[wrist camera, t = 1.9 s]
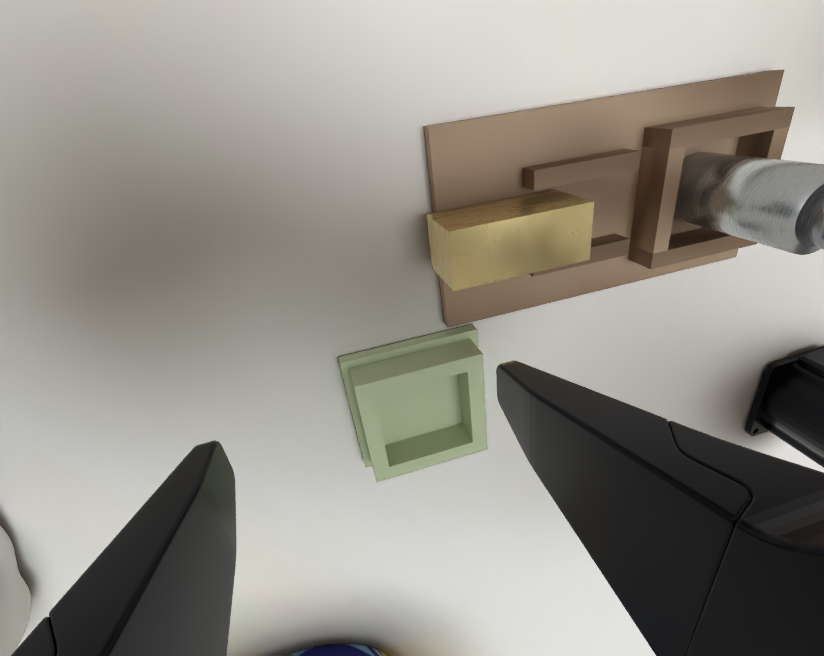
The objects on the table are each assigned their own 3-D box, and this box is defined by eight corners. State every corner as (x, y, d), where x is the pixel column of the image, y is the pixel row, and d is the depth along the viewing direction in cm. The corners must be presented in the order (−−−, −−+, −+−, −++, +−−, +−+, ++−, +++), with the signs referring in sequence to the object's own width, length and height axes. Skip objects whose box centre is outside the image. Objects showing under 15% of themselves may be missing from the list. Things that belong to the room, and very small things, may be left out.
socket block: (726, 253, 24) (763, 266, 22) (443, 322, 22) (459, 343, 20) (771, 70, 20) (822, 67, 18) (423, 126, 17) (441, 129, 15)
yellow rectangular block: (553, 241, 20) (589, 259, 18) (432, 268, 19) (453, 291, 17) (555, 189, 19) (594, 201, 17) (426, 214, 18) (448, 231, 16)
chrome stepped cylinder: (711, 213, 22) (887, 257, 16) (657, 225, 21) (817, 275, 15) (725, 146, 20) (927, 164, 14) (668, 157, 20) (851, 181, 14)
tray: (479, 426, 25) (494, 452, 24) (363, 460, 24) (370, 489, 22) (472, 324, 22) (490, 344, 20) (337, 357, 21) (343, 382, 19)
